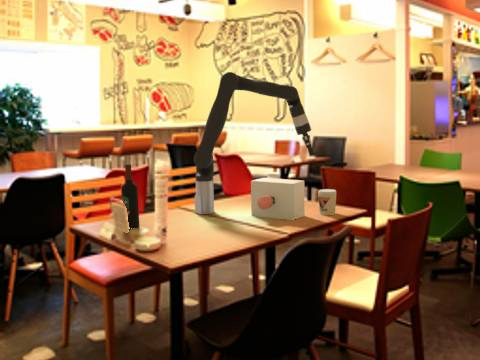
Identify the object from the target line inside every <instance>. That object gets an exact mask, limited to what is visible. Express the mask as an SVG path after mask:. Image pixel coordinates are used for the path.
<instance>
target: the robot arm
mask: <svg viewBox="0 0 480 360" xmlns="http://www.w3.org/2000/svg"><path fill="white" fill-rule="evenodd" d="M235 91H246V92H249V93H250V92H251V93H255V94H258V95H262V96H265V97H266V96H267V97H272V98H279V99H282V100H286V103H287V105H288V108H289V109H288V110H289V114H290V116H291V119H292V122H293V127H294V129H295V131H296V135H298V136H301V135H302V142H303V143H304V146H305V147H306V149H307V151H308V155H309V156H311V157H312V156H313V155H315V153H314V148H313V146H312V145H313V144H312V140H311V135H310V134H309V133H310V132H311V131H312V128H311V125H310V121H309V119H308V116H307V114H306V111H305V109H304V106H303V104H302V101H301V98H300V95H299V91H298V89H297V88H296V87H295V86H293V85H284V84H279V83H276V82H272V81H266V80H261V79H260V80H258V79H252V78H247V77H244V76H241V75H239V74H236V72H233V71H226V72H225V73H222V76H220V81H219V85H218V90H217V94H216V97H215V99H214V102H213V104H212V106H211V108H210V111H209V114H208V117H207V119H206V123H205V127H204V130H203V134H202V138H201V142H200V144H199V145H198V148H197V150H196V152H195V154H194V157H193V163H194V164H195V166H196V167H195V168H196V170H195V194H194V212H195V213H194V214H198V215H210V214H213V213H215V198H214V196H215V195H214V191H215V189H214V174H215V173H214V155H213V153H214V149H215V145H216V144H217V142H218V140H219V138H220V136H221V134H222V132H223V129H224V127H225V124H226V121H227V119H228V118H227V117H228V115H229V108H230V103H231V100H232V98H233V95H234V93H235Z"/></svg>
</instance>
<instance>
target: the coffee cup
mask: <svg viewBox="0 0 480 360" xmlns="http://www.w3.org/2000/svg"><path fill="white" fill-rule="evenodd" d="M317 194H318V208H319V214H320V215H322V216H334V215H336V208H337V207H336V205H337V190H336V189H331V188H325V189H324V188H321V189H319V190H318V191H317Z"/></svg>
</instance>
